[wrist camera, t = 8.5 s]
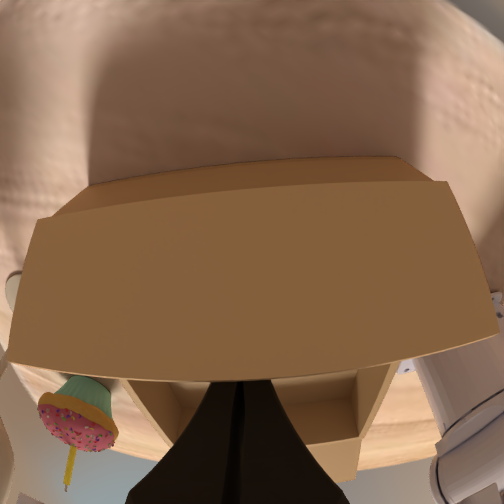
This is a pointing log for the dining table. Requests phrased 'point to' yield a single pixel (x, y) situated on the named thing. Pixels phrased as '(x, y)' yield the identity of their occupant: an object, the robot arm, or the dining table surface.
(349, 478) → the flap
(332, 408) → the carton
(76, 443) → the cupcake
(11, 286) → the wineglass
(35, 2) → the dining table surface
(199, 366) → the flap
